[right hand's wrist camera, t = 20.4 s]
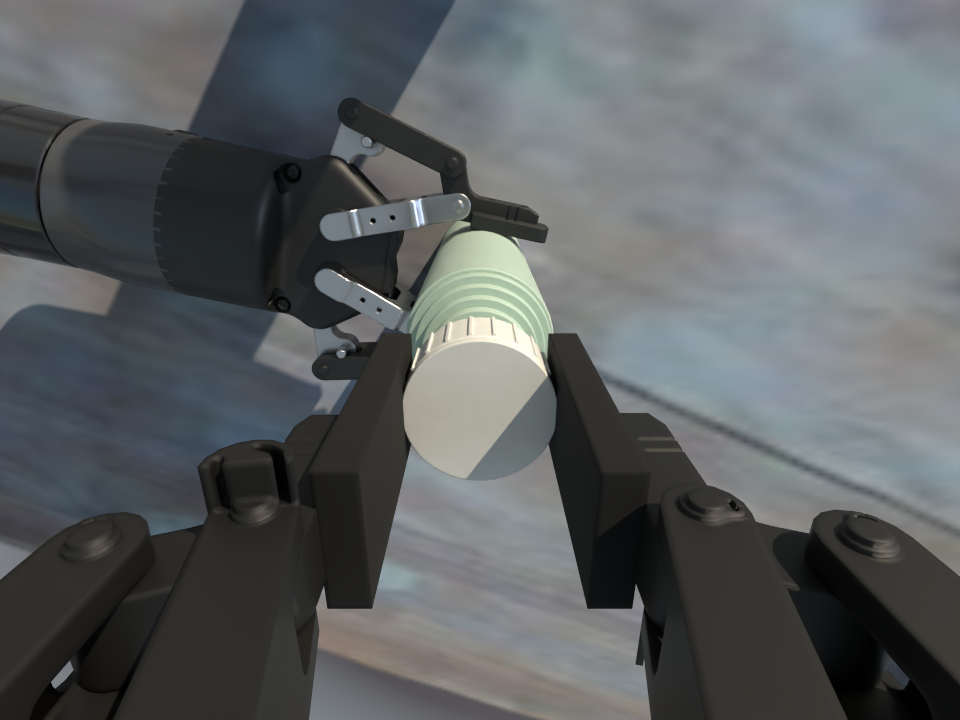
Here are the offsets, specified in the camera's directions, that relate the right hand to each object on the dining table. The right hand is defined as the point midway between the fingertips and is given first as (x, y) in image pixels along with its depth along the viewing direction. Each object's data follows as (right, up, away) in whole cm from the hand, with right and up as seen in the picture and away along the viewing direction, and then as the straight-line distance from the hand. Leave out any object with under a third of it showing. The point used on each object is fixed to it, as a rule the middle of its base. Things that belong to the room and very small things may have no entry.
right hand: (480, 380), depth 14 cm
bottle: (0, +7, +18) cm, 20 cm away
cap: (0, -1, -2) cm, 2 cm away
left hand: (+3, +4, +12) cm, 13 cm away
